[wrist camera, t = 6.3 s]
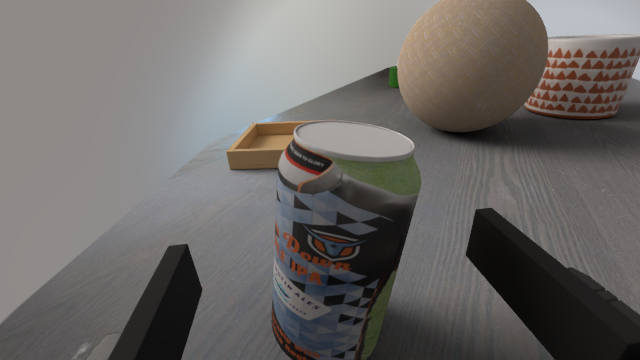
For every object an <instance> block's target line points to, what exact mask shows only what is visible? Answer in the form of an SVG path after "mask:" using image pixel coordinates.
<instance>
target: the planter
mask: <svg viewBox="0 0 640 360" xmlns="http://www.w3.org/2000/svg"><path fill="white" fill-rule="evenodd" d="M639 58H640V35H630V34H629V35H627V34H625V35H624V34H617V35H615V34H613V35H612V34H611V35H580V36H561V37H548V58H547V63H546V67H545V70H544V73H543V76H542V78H541V80H540V82H539V84H538V86H537V88H536V89H535V91H534V92H533V94H532V95H531V96H530V98H529V99H528V100H527V101H526V102H525V105H524V106H525V108H526V109H527V110H529V111H531V112H533V113H537V114H541V115H545V116H551V117H558V118H568V119H602V118H608V117H612V116H614V115H615V114H616V113H617V111H618V109H619V106H620V104H621V101H622V99H623V97H624V94H625V92H626V89H627V87H628V84H629V82H630V80H631V77H632V75H633V72H634V70H635V67H636V65H637V62H638V60H639Z"/></svg>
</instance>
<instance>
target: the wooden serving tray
mask: <svg viewBox="0 0 640 360" xmlns="http://www.w3.org/2000/svg"><path fill="white" fill-rule="evenodd" d="M317 121H321V120H317ZM306 122H311V121H293V122H269V123H253V124H252V125H251V126H250V127H249V128H248V129H247V130H246V131H245V132H244V133H243V134H242V135H241V136H240V138H239V139H238V140H237V141H236V142H235V143H234V144H233V145H232V146H231V147H230V148H229V149H228V150H227V151H226V153H227V157H228V162H229V165H230V169H262V168H278V163H279V159H280V157H281V155H282V153H283V151H284V150H285V148H286V147H287V146H288V145H289V143H290V142H291V141H292V140H293V138H294V130H295V128H296V127H297V126H299V125H300V124H303V123H306Z"/></svg>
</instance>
